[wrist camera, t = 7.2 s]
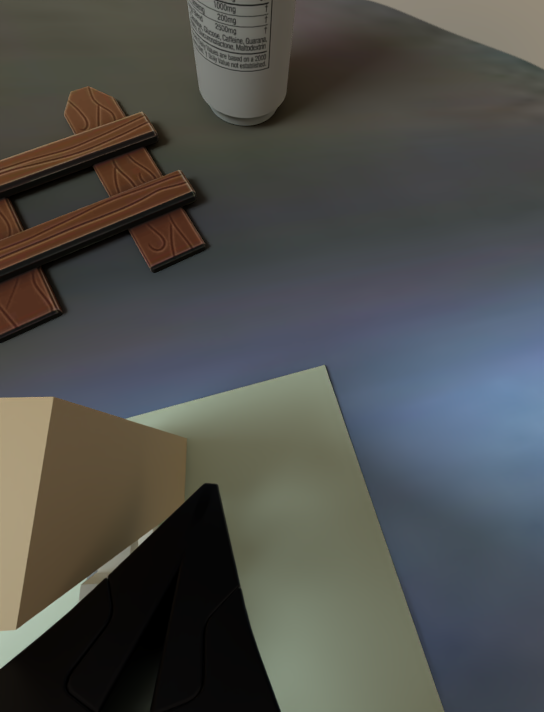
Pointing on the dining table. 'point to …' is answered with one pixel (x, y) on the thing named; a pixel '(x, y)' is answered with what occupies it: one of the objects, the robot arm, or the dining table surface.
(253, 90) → the energy drink can
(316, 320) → the dining table surface
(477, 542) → the dining table surface
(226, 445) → the mat
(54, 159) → the decorative fence
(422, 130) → the dining table surface
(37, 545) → the gate
